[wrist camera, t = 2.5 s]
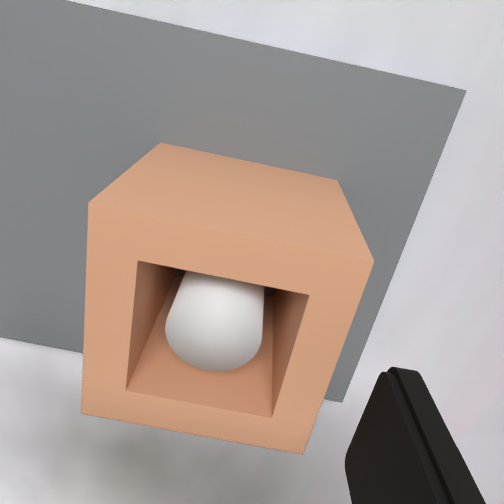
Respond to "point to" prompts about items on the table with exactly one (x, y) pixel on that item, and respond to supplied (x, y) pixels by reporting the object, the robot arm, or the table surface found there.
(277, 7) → the table surface
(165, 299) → the collar
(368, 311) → the hub board
